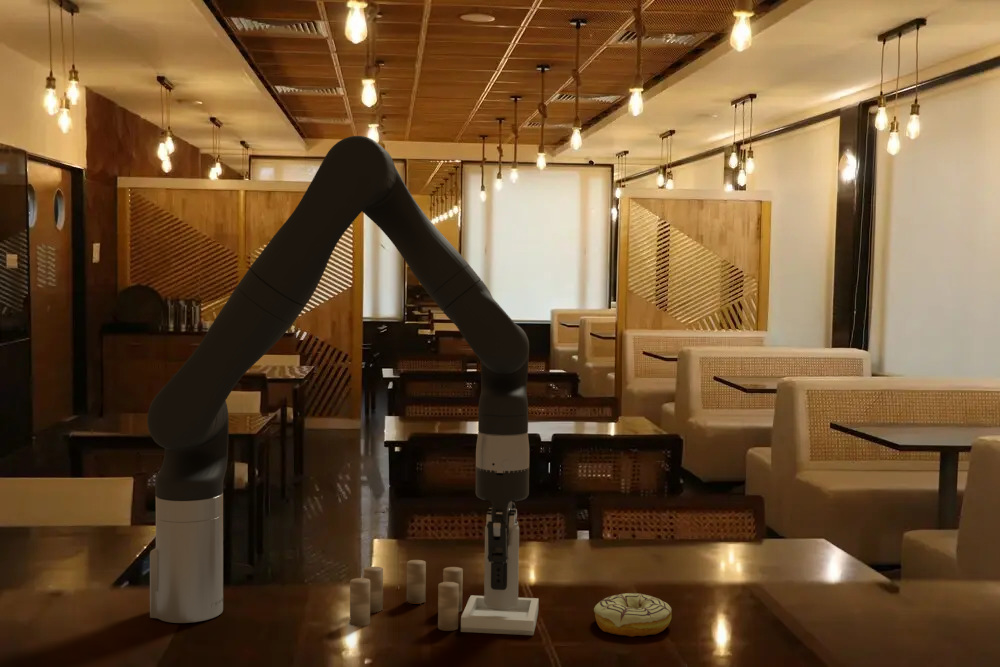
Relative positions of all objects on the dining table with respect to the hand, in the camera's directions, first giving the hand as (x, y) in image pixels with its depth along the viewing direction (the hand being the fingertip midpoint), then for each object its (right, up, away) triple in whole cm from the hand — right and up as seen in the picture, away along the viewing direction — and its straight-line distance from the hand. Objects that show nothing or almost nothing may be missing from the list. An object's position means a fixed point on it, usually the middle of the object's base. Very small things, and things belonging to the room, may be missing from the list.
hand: (500, 582), depth 144 cm
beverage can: (0, -4, 0) cm, 4 cm away
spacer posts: (-13, -5, +3) cm, 14 cm away
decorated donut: (+18, -6, -1) cm, 19 cm away
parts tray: (0, -6, 0) cm, 6 cm away
